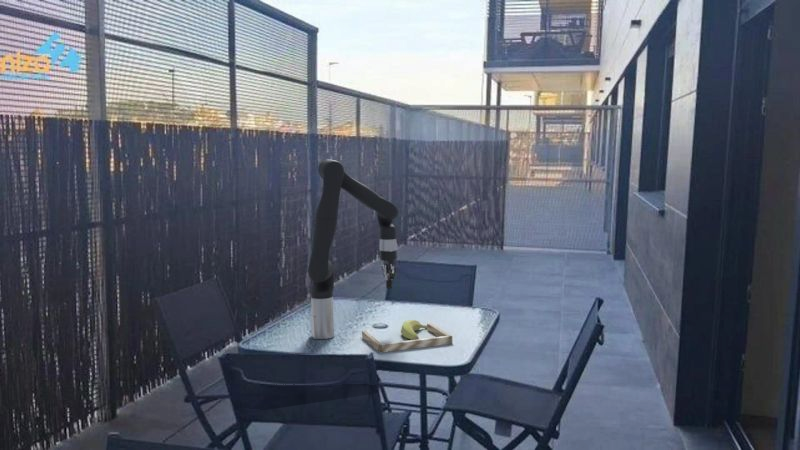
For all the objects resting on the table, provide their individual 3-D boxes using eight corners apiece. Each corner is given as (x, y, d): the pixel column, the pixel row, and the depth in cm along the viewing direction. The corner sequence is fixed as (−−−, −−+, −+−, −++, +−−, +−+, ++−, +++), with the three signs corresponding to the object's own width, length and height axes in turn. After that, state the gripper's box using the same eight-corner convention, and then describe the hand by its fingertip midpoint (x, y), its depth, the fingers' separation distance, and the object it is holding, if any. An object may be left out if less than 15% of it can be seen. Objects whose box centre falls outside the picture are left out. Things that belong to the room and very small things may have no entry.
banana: (392, 320, 291) (419, 316, 307) (389, 332, 292) (416, 327, 308) (417, 333, 283) (444, 328, 300) (414, 345, 284) (440, 340, 301)
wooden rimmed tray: (379, 352, 270) (379, 345, 269) (362, 337, 292) (361, 330, 291) (452, 343, 280) (452, 336, 280) (430, 329, 302) (430, 323, 302)
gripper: (375, 247, 306) (375, 286, 308) (384, 251, 294) (385, 291, 296) (391, 246, 309) (391, 284, 311) (401, 250, 297) (402, 290, 298)
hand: (388, 288), depth 303 cm, fingers closed
